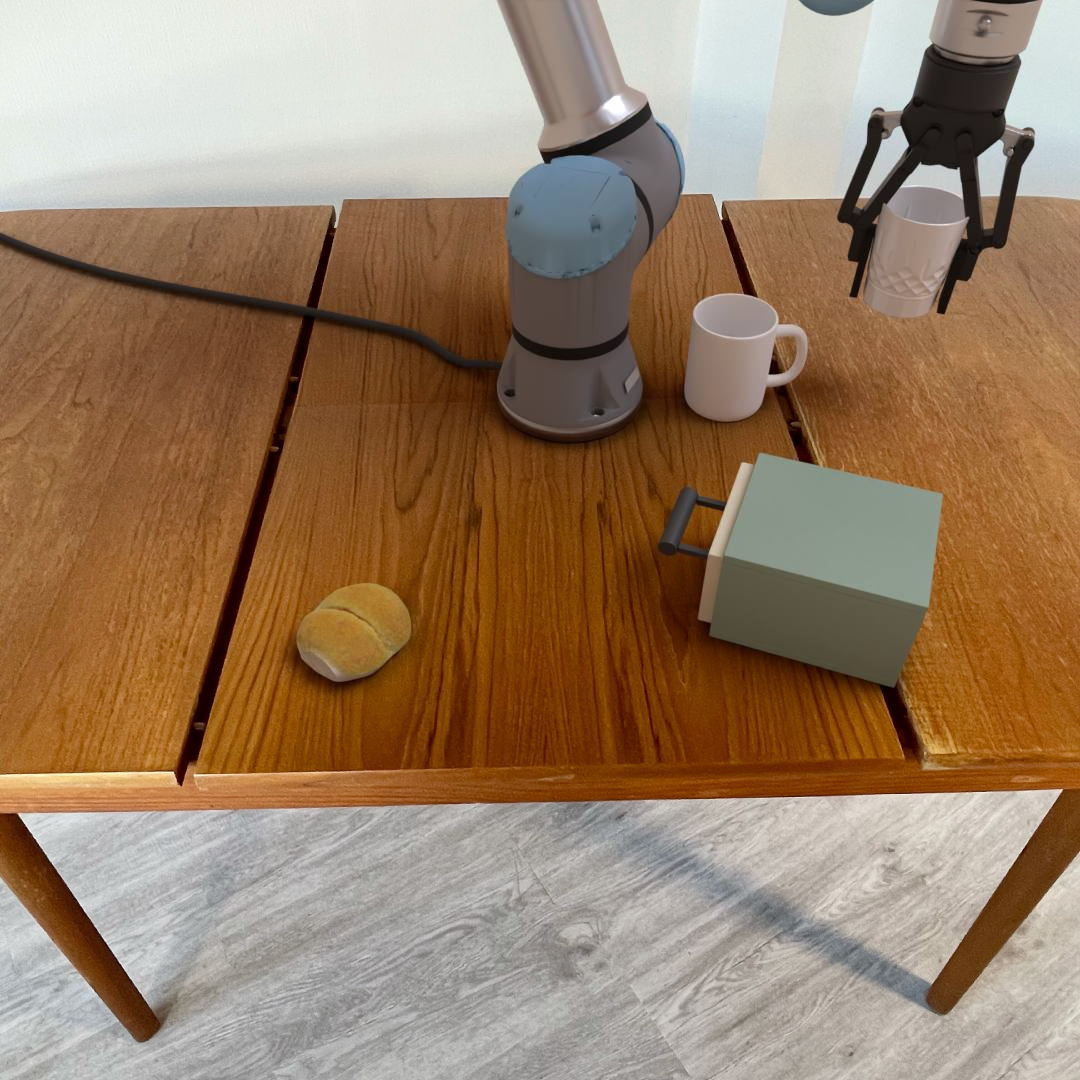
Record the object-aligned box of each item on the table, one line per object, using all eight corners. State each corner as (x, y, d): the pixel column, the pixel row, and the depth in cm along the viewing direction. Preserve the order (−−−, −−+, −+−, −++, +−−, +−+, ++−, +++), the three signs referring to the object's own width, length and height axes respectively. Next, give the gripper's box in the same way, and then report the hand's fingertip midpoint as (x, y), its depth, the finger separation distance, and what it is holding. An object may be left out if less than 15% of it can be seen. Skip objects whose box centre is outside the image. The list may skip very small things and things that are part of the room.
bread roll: (430, 626, 76) (425, 595, 74) (355, 700, 71) (346, 669, 69) (358, 583, 80) (350, 551, 77) (281, 651, 75) (270, 619, 72)
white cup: (942, 327, 88) (977, 228, 81) (857, 318, 89) (884, 220, 82) (934, 284, 93) (967, 188, 86) (854, 276, 95) (880, 181, 87)
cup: (678, 376, 100) (688, 293, 93) (789, 375, 100) (807, 291, 93) (688, 424, 95) (698, 339, 87) (805, 422, 95) (825, 337, 87)
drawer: (645, 605, 77) (652, 539, 71) (681, 515, 84) (690, 449, 78) (867, 666, 72) (892, 601, 66) (884, 566, 79) (909, 499, 74)
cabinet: (708, 636, 75) (723, 554, 68) (742, 533, 83) (759, 452, 77) (893, 688, 71) (928, 607, 65) (910, 575, 80) (943, 493, 73)
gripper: (839, 48, 75) (786, 297, 91) (1114, 81, 70) (1006, 339, 86) (852, 20, 80) (800, 262, 96) (1110, 49, 75) (1009, 299, 91)
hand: (897, 298), depth 91 cm, fingers closed on white cup, 8 cm apart
